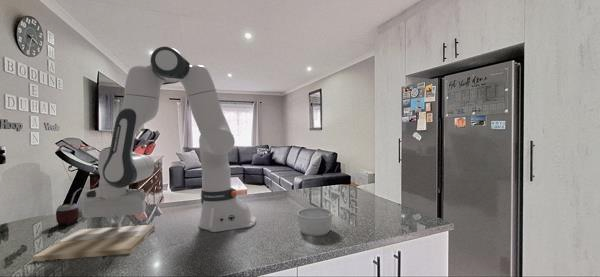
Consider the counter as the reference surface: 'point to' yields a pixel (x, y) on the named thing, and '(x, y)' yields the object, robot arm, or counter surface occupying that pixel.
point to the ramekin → (314, 221)
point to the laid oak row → (89, 248)
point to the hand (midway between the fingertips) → (115, 227)
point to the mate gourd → (67, 213)
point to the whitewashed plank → (110, 233)
